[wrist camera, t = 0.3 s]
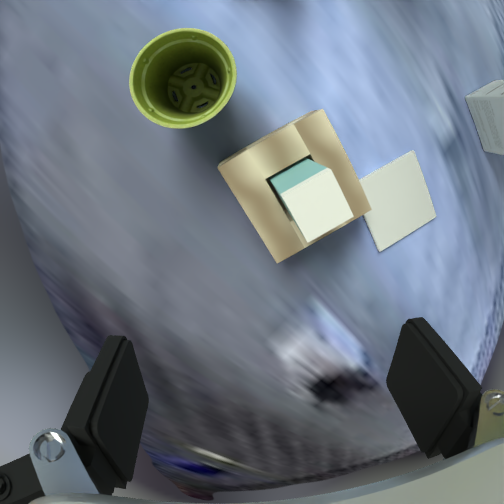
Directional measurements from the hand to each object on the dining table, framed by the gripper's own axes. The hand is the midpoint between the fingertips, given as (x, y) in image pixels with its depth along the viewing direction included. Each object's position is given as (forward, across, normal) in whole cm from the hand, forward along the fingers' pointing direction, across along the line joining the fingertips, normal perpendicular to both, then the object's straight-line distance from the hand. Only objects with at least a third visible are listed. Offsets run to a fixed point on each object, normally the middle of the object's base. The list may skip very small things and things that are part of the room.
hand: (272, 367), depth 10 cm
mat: (+28, -20, +1) cm, 34 cm away
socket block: (+28, -6, -2) cm, 29 cm away
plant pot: (+28, +5, -13) cm, 31 cm away
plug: (+28, -6, -2) cm, 28 cm away
